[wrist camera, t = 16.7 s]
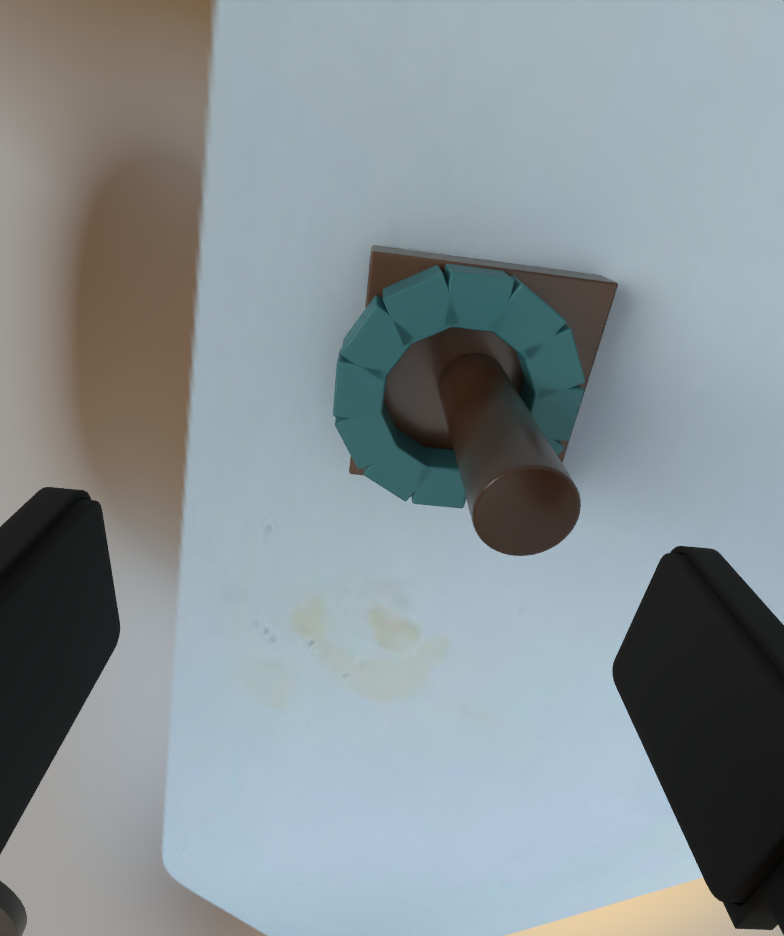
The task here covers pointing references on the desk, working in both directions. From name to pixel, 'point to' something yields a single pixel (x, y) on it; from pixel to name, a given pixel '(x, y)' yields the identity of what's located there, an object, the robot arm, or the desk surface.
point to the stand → (492, 403)
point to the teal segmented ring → (425, 314)
